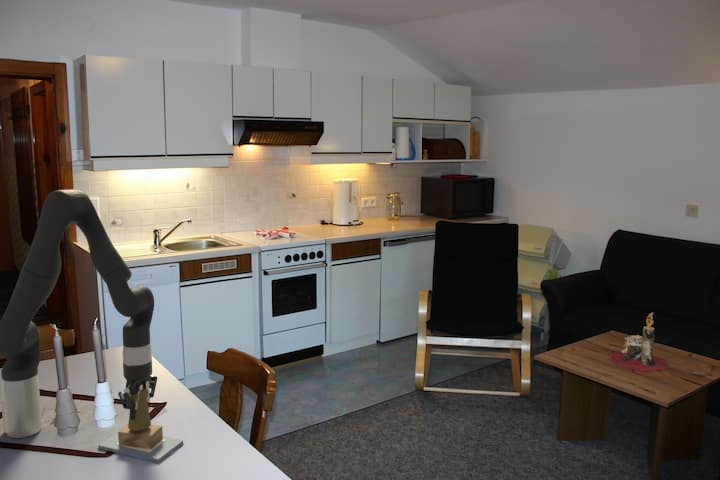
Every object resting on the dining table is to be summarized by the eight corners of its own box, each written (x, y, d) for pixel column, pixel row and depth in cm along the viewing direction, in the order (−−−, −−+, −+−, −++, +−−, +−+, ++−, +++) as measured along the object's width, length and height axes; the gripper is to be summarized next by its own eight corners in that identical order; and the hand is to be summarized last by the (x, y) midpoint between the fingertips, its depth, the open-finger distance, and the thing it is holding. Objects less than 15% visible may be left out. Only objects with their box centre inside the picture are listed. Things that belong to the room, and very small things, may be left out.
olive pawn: (143, 431, 170) (142, 394, 168) (123, 429, 171) (121, 391, 169) (155, 421, 176) (153, 385, 174) (135, 419, 177) (134, 382, 175)
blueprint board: (98, 448, 173) (98, 444, 173) (125, 430, 183) (125, 427, 183) (158, 462, 166) (158, 458, 166) (183, 443, 176) (183, 439, 176)
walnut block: (118, 445, 172) (118, 431, 172) (130, 434, 178) (130, 422, 178) (151, 449, 171) (151, 436, 170) (162, 439, 176) (162, 425, 176)
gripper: (143, 348, 178) (145, 405, 181) (107, 366, 165) (111, 426, 168) (165, 352, 175) (166, 409, 178) (131, 370, 162) (133, 431, 165)
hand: (139, 417), depth 173 cm, fingers closed on olive pawn, 3 cm apart
